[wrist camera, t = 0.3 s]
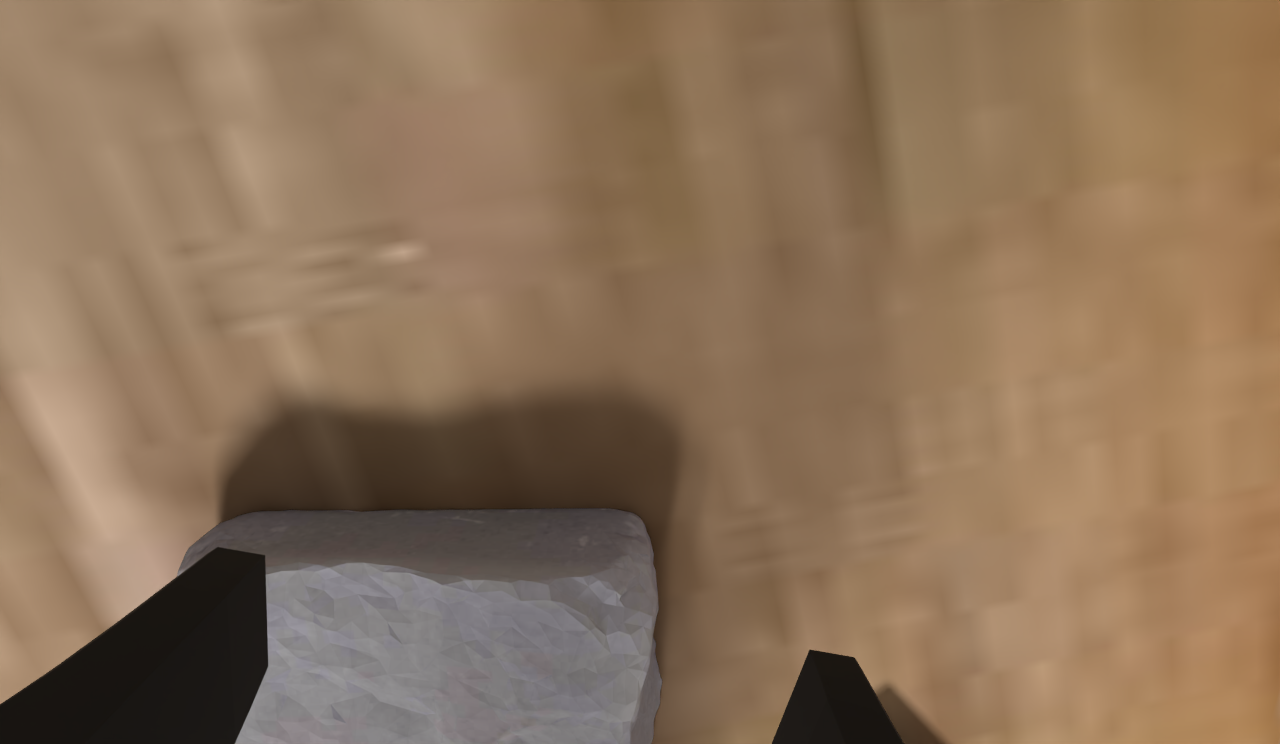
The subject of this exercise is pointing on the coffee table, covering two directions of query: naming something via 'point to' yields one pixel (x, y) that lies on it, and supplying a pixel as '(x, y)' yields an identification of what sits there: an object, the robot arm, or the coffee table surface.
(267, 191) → the coffee table surface
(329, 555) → the stone block
